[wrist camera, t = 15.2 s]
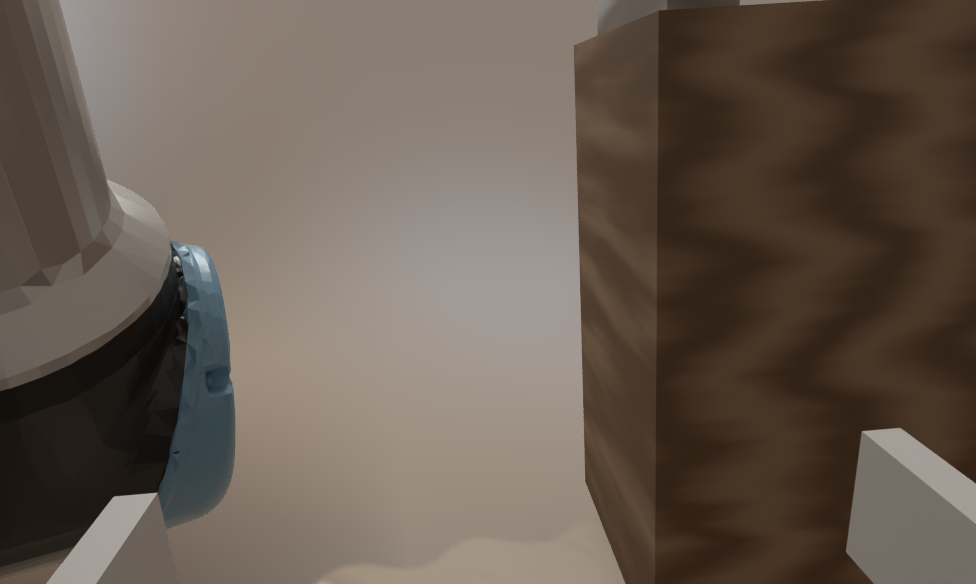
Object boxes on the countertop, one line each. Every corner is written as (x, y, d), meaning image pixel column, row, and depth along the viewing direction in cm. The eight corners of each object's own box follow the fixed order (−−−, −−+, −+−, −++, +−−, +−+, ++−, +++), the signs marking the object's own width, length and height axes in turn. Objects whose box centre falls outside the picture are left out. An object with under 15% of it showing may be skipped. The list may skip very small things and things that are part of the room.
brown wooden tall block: (654, 655, 33) (659, -110, 24) (585, 481, 49) (572, -27, 39) (960, 620, 34) (1081, -131, 25) (798, 460, 50) (834, -42, 40)
